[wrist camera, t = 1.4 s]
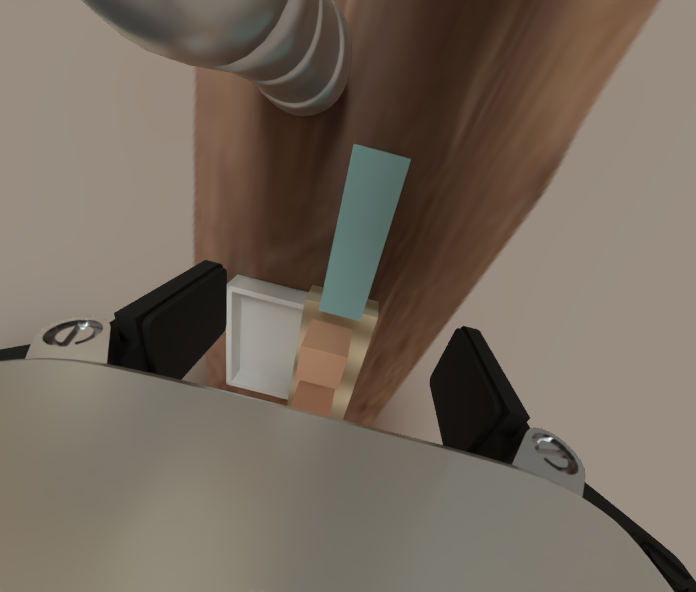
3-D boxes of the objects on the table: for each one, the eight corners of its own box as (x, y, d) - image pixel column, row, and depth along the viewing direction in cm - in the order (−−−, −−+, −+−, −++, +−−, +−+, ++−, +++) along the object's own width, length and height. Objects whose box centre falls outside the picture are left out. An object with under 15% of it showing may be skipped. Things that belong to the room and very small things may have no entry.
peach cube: (300, 376, 29) (289, 407, 26) (335, 385, 29) (329, 417, 26) (296, 399, 31) (285, 431, 27) (329, 408, 31) (322, 440, 28)
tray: (238, 274, 27) (225, 284, 25) (311, 292, 27) (304, 305, 25) (236, 369, 34) (226, 384, 32) (294, 384, 34) (288, 399, 32)
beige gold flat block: (312, 284, 27) (305, 298, 24) (378, 301, 27) (378, 317, 24) (293, 389, 35) (286, 408, 32) (344, 402, 35) (341, 422, 32)
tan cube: (312, 318, 25) (300, 345, 22) (352, 329, 25) (347, 357, 22) (306, 349, 27) (295, 378, 24) (343, 359, 27) (337, 389, 24)
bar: (360, 146, 21) (353, 143, 15) (403, 157, 21) (411, 159, 15) (331, 279, 26) (318, 310, 21) (364, 288, 26) (360, 321, 21)
